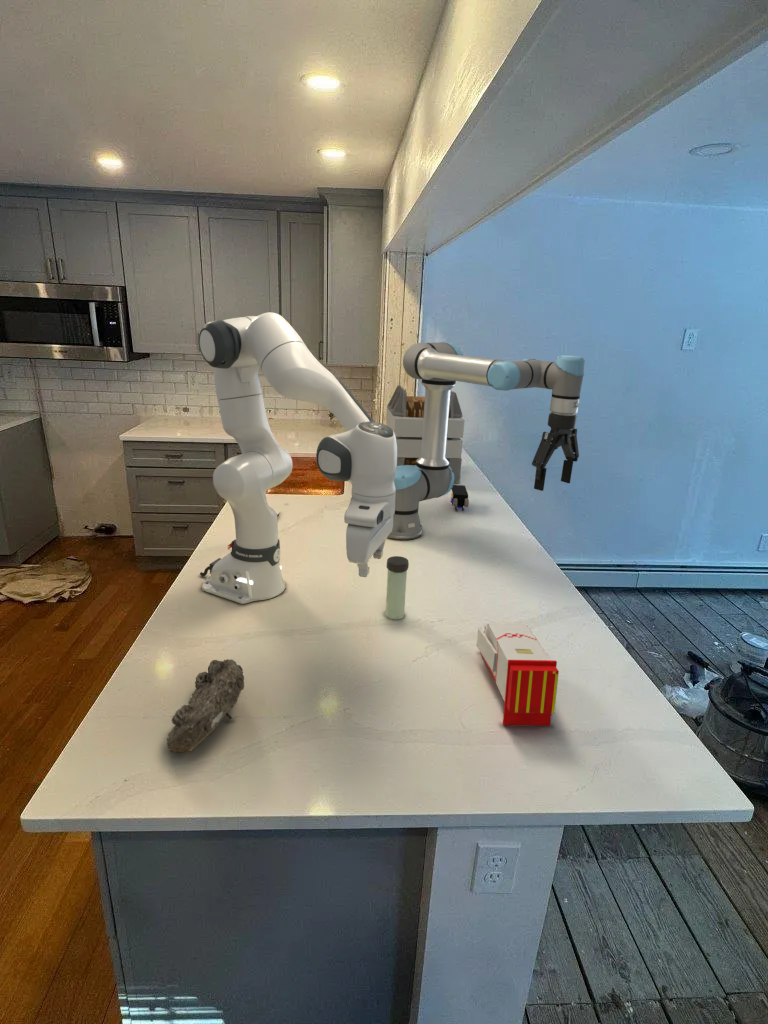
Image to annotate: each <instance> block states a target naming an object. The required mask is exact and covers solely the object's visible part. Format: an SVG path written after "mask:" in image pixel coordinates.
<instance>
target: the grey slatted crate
mask: <svg viewBox="0 0 768 1024" xmlns="http://www.w3.org/2000/svg"><path fill="white" fill-rule="evenodd" d="M407 394H408V393H407V390H406V389H404V388H403V387H402V385H399V384H398V385H397V386H396V388H395V390H394V392H393V394H392V395H391V398H390V400H389V402H388V404H387V405H386V413H385V414H386V415H385V423H386V425H387V426H389V427H390V428H391V429H392V430H393V431H394V433H395V437H396V442H397V466H401V465H404V466H405V465H413V466H416V461H417V459H418V458H420V457H421V449H422V434H423V419H424V404H425V396H415V395H414V396H413V395H412V396H411V395H407ZM464 429H465V419H464V418H463V411H462V408H461V405H460V402H459V398H458V395H457V392H455V391H453V390H451V392H450V404H449V416H448V428H447V441H446V453H445V458H446V459H447V461H448V462H449V466H450V467H451V469H452V473H454V484H455V483H456V484H459V483H461V472H462V461H463V460H462V453H463V442H464V441H463V440H462V439H463V438H464V431H465V430H464Z"/></svg>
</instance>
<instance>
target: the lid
mask: <svg viewBox="0 0 768 1024" xmlns="http://www.w3.org/2000/svg"><path fill="white" fill-rule="evenodd" d="M408 569H409V559H408V558H407V557H405V556H398V555H393V556H390V557H388V558H387V559H386V570H387V571H388V570H390V571H392V572H405V571H407V572H408Z"/></svg>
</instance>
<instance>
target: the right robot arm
mask: <svg viewBox="0 0 768 1024" xmlns="http://www.w3.org/2000/svg"><path fill="white" fill-rule="evenodd" d="M585 365H586V360H585V358H584V357H582V356H578V355H566V354H565V355H564V354H563V355H558V356H557V357H556V360H555V361H549V360H541V359H536V358H524V359H521V360H506V359H505V360H504V359H503V360H502V359H496V358H487V357H479V356H471V355H464V354H463V352H462V350H461V349H460V347H459V346H457V345H456V344H455V343H451V342H445V341H443V342H442V341H441V342H440V341H439V342H438V341H437V342H417V343H414V344H412V345H411V346H409V347H408V348H407V350H406V351H405V353H404V355H403V358H402V366H403V369H404V372H405V373H406V374H407V375H408V376H409V377H411V378H412V379H415V380H421V385H422V386H423V387H424V389H425V392H424V397H425V404H424V419H423V434H422V449H421V457H420V458H418V459H417V461H416V466H413V465H401V466H397V471H396V474H395V478H394V483H395V488H396V496H395V513H394V515H393V529H392V532H391V533H390V534H389V535H388V537H387V538H386V539H389V540H395V541H410V540H415V539H418V538H420V537H421V536H422V535H423V525H422V524H421V518H420V515H419V507H420V506H419V505H420V502H423V501H427V500H431V499H437V498H440V497H443V496H446V495H448V493H450V492H451V491H452V487H453V485H455V483H454V473H452V469H451V467H450V466H449V462H448V461H447V459H446V458H445V453H446V441H447V428H448V416H449V404H450V392H451V391H452V389H453V388H454V387H455V386H456V384H457V382H461V383H465V384H473V385H479V386H487V387H491V388H492V389H494V390H496V391H503V392H504V391H511V390H520V389H532V388H533V389H534V388H539V389H546V390H551V398H550V404H549V413H548V418H547V419H548V420H547V426H548V427H549V428H550V431H549V432H548V431H543V432H542V435H541V440H540V442H539V445H538V447H537V449H536V452H535V454H534V457H533V460H532V461H531V466H533V467H535V475H534V477H535V478H534V485H533V489H534V490H537V491H539V492H543V491H544V489H545V484H546V483H545V482H546V476H547V468H546V466H547V465H548V463H549V461H550V459H551V457H552V456H553V454H554V453H555V451H556V450H557V449H558V448H560V447H561V449H562V452H563V455H564V458H565V459H563V463H562V468H561V469H562V470H561V475H560V482H562V483H566V484H571V478H572V472H573V466H574V463H576V462H578V461H579V457H580V453H579V444H578V428H576V423H577V419H578V416H577V414H578V412H579V411H578V410H579V406H580V397H581V391H582V385H583V380H584V376H585Z"/></svg>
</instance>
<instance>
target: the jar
mask: <svg viewBox="0 0 768 1024" xmlns="http://www.w3.org/2000/svg"><path fill="white" fill-rule="evenodd" d="M407 574H408V570H407V571H405V572H392V571H390V570H388V569H387V578H386V579H387V580H386V598H385V599H386V600H385V616H386V618H388V619H390V620H401V619H402V618H404V616H405V607H406V606H405V605H406V590H407V589H406V588H407Z"/></svg>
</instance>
